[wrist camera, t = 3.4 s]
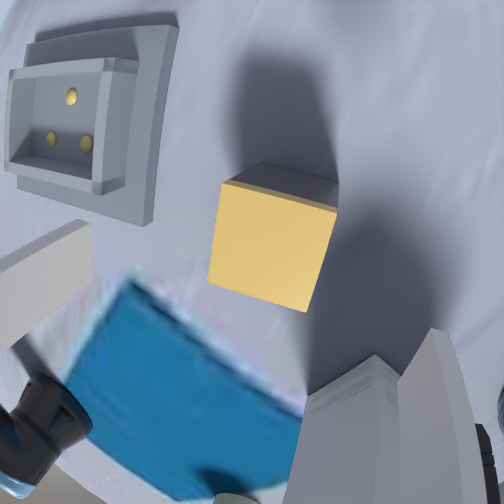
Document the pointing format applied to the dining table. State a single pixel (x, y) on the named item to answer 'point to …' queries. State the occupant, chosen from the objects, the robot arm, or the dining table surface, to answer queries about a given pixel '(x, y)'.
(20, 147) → the socket
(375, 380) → the supplement box
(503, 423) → the canister
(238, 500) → the can
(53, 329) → the dining table surface
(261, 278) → the plug
